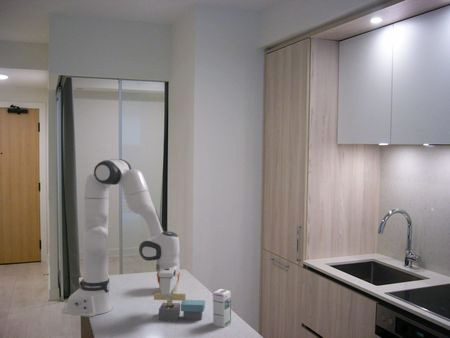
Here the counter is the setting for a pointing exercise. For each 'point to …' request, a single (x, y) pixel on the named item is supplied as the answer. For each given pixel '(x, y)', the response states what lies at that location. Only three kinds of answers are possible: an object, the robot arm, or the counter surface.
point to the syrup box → (222, 307)
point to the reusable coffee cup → (159, 277)
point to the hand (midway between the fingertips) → (169, 298)
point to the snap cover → (193, 305)
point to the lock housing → (176, 313)
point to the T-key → (173, 297)
